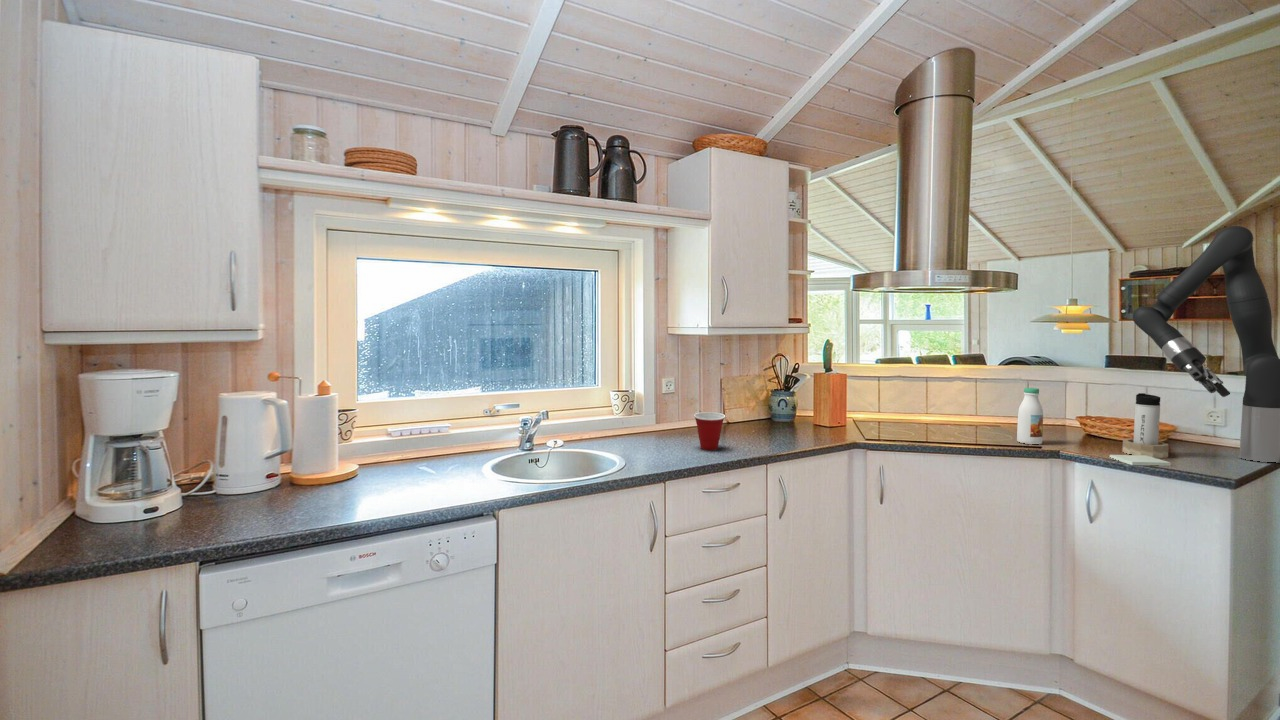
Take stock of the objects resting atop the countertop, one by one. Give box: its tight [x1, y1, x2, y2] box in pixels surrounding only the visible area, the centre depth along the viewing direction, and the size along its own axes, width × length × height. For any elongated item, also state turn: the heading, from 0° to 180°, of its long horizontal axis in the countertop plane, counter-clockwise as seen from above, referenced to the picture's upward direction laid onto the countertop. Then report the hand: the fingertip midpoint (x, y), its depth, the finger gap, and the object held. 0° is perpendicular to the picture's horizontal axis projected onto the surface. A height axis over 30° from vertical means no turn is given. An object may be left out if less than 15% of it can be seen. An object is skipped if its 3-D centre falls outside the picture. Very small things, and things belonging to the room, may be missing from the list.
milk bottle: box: [1016, 387, 1044, 445], centre depth 218 cm, size 8×8×20 cm
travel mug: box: [1133, 392, 1161, 445], centre depth 199 cm, size 6×7×20 cm
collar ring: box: [1121, 438, 1170, 459], centre depth 200 cm, size 11×11×4 cm
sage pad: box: [1109, 454, 1172, 467], centre depth 189 cm, size 11×10×1 cm
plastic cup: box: [693, 411, 726, 451], centre depth 207 cm, size 11×11×12 cm
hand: (1220, 393), depth 188 cm, fingers open, 8 cm apart
